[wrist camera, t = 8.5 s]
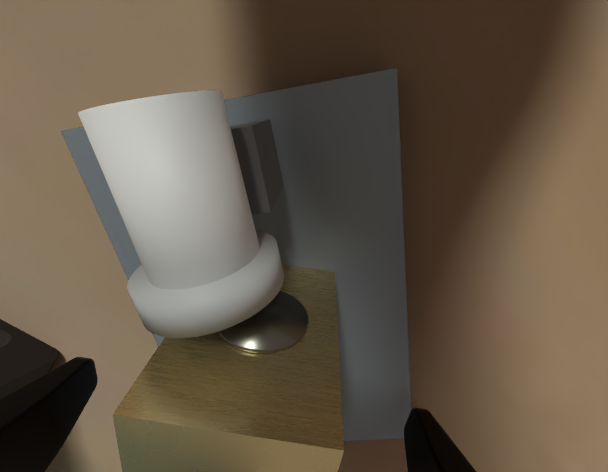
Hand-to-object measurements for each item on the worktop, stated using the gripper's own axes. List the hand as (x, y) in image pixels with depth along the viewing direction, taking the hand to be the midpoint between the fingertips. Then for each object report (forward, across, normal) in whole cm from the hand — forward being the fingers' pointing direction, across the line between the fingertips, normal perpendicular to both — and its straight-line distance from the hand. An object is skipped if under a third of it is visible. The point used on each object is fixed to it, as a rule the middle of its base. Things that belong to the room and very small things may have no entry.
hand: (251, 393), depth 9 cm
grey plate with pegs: (+4, 0, 0) cm, 4 cm away
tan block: (+3, 0, 0) cm, 3 cm away
